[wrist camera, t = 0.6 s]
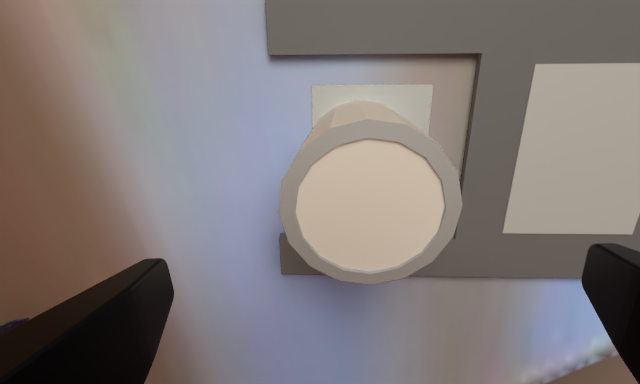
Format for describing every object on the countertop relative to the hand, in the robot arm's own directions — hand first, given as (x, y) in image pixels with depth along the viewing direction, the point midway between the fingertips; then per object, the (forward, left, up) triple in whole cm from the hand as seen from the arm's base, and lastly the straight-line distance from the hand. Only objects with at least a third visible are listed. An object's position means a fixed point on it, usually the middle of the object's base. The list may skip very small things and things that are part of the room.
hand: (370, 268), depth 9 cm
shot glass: (-1, +2, -13) cm, 14 cm away
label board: (-7, +2, -13) cm, 15 cm away
